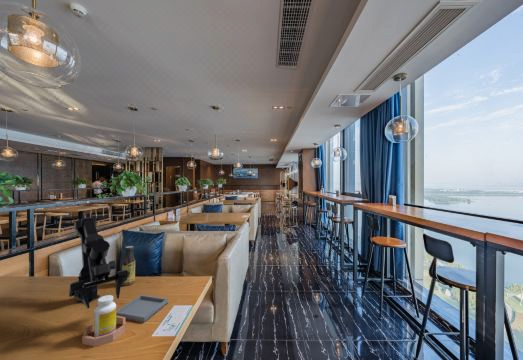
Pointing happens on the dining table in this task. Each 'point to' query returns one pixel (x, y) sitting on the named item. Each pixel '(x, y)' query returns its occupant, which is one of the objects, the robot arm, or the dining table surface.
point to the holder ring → (106, 338)
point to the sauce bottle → (129, 265)
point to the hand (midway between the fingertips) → (103, 303)
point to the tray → (142, 308)
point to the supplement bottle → (105, 316)
